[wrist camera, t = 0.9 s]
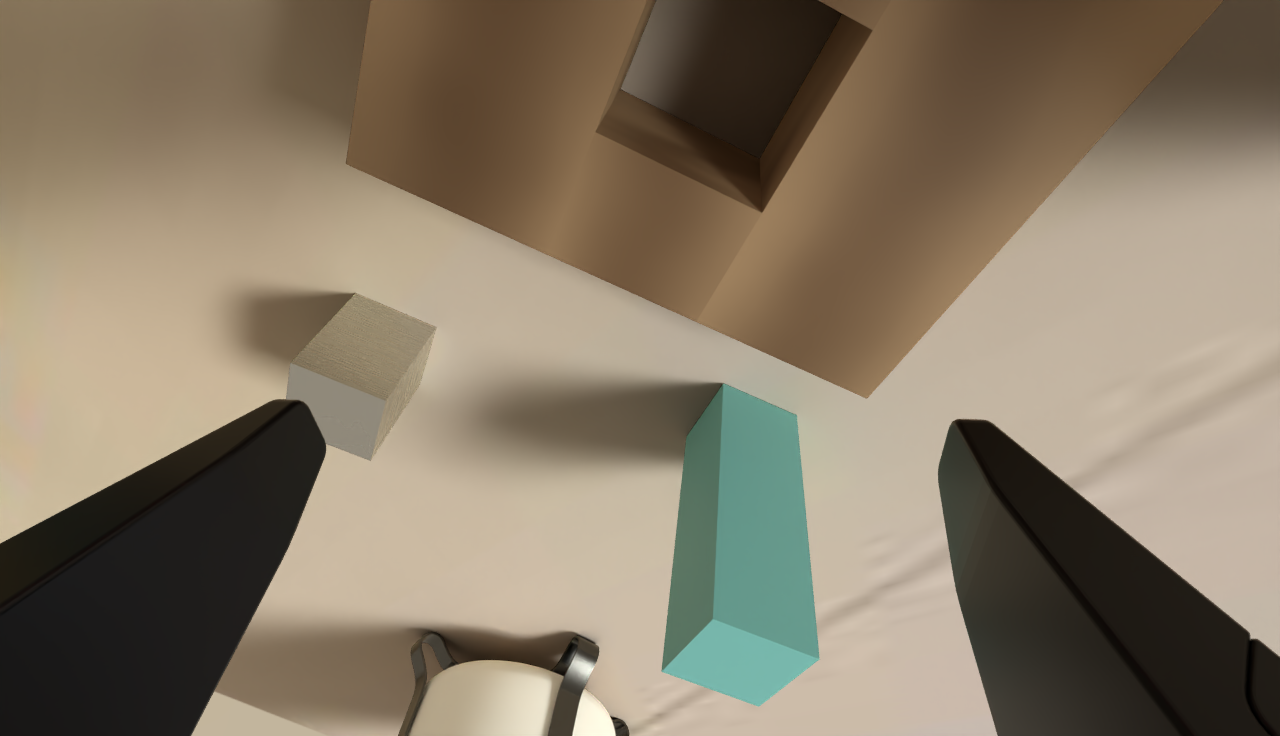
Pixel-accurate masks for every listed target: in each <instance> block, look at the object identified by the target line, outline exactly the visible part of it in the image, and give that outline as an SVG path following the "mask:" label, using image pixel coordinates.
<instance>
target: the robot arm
mask: <svg viewBox="0 0 1280 736" xmlns="http://www.w3.org/2000/svg"><path fill="white" fill-rule="evenodd" d="M325 454H326V443H325V439H324V437H323V435H322V433H321V431H320V429H319V427H318V425H317V422H316V420H315V418H314V416H313V414H312V412H311V410H310V408H309V407H308V405H307V404H306V403H305V402H303V401H301V400H290V399H277V400H273V401H270V402H268V403H266V404H265V405H263V406H261V407H259V408H257V409H255V410H253V411H251V412H249V413H247V414H246V415H244V416H242V417H240V418H238V419H236V420H234V421H232V422H230V423H228V424H227V425H225V426H223V427H221V428H219V429H217V430H215V431H213V432H211V433H209V434H208V435H206V436H204V437H202V438H200V439H198V440H196V441H194V442H192V443H190V444H189V445H187V446H185V447H183V448H181V449H179V450H177V451H175V452H173V453H171V454H170V455H168V456H166V457H164V458H162V459H160V460H158V461H156V462H154V463H152V464H151V465H149V466H147V467H145V468H143V469H141V470H139V471H137V472H135V473H133V474H132V475H130V476H128V477H126V478H124V479H122V480H120V481H118V482H116V483H114V484H112V485H111V486H109V487H107V488H105V489H103V490H101V491H99V492H97V493H95V494H93V495H92V496H90V497H88V498H86V499H84V500H82V501H80V502H78V503H76V504H74V505H73V506H71V507H69V508H67V509H65V510H63V511H61V512H59V513H57V514H55V515H54V516H52V517H50V518H48V519H46V520H44V521H42V522H40V523H38V524H36V525H35V526H33V527H31V528H29V529H27V530H25V531H23V532H21V533H19V534H17V535H16V536H14V537H12V538H10V539H8V540H6V541H4V542H2V543H1V544H0V736H191V735H192V733H193V731H194V729H195V727H196V725H197V723H198V721H199V719H200V717H201V716H202V714H203V712H204V710H205V708H206V706H207V704H208V702H209V700H210V698H211V696H212V694H213V692H214V691H215V689H216V687H217V685H218V683H219V681H220V679H221V677H222V675H223V673H224V671H225V669H226V667H227V666H228V664H229V662H230V660H231V658H232V656H233V654H234V652H235V650H236V648H237V646H238V644H239V642H240V641H241V639H242V637H243V635H244V633H245V631H246V629H247V627H248V625H249V623H250V621H251V619H252V617H253V615H254V614H255V612H256V610H257V608H258V606H259V604H260V602H261V600H262V598H263V596H264V594H265V592H266V590H267V589H268V587H269V585H270V583H271V581H272V579H273V577H274V575H275V573H276V571H277V569H278V567H279V565H280V564H281V562H282V560H283V558H284V555H285V553H286V551H287V549H288V547H289V545H290V543H291V540H292V538H293V536H294V533H295V531H296V529H297V526H298V523H299V521H300V518H301V516H302V513H303V511H304V508H305V506H306V503H307V501H308V498H309V496H310V493H311V491H312V488H313V486H314V483H315V481H316V478H317V476H318V473H319V471H320V468H321V466H322V463H323V460H324V458H325ZM938 483H939V489H940V496H941V502H942V508H943V514H944V521H945V527H946V533H947V539H948V545H949V552H950V558H951V564H952V570H953V576H954V582H955V587H956V592H957V596H958V600H959V603H960V607H961V611H962V614H963V618H964V621H965V625H966V628H967V632H968V635H969V639H970V642H971V645H972V649H973V652H974V656H975V659H976V663H977V666H978V670H979V673H980V676H981V680H982V683H983V687H984V690H985V694H986V697H987V701H988V704H989V707H990V711H991V714H992V718H993V721H994V725H995V728H996V732H997V735H998V736H1280V657H1279V656H1278V655H1277V654H1276V653H1275V652H1273V651H1272V650H1271V649H1270V648H1268V647H1267V646H1266V645H1265V644H1263V643H1262V642H1261V641H1260V640H1258V639H1250V633H1249V632H1248V631H1247V630H1246V629H1245V628H1243V627H1242V626H1241V625H1240V624H1238V623H1237V622H1236V621H1235V620H1234V619H1232V618H1231V617H1230V616H1229V615H1227V614H1226V613H1225V612H1224V611H1223V610H1221V609H1220V608H1219V607H1218V606H1216V605H1215V604H1214V603H1213V602H1211V601H1210V600H1209V599H1208V598H1207V597H1205V596H1204V595H1203V594H1202V593H1200V592H1199V591H1198V590H1197V589H1196V588H1194V587H1193V586H1192V585H1191V584H1189V583H1188V582H1187V581H1186V580H1184V579H1183V578H1182V577H1181V576H1180V575H1178V574H1177V573H1176V572H1175V571H1173V570H1172V569H1171V568H1170V567H1168V566H1167V565H1166V564H1165V563H1164V562H1162V561H1161V560H1160V559H1159V558H1157V557H1156V556H1155V555H1154V554H1153V553H1151V552H1150V551H1149V550H1148V549H1146V548H1145V547H1144V546H1143V545H1141V544H1140V543H1139V542H1138V541H1137V540H1135V539H1134V538H1133V537H1132V536H1130V535H1129V534H1128V533H1127V532H1126V531H1124V530H1123V529H1122V528H1121V527H1119V526H1118V525H1117V524H1116V523H1114V522H1113V521H1112V520H1111V519H1110V518H1108V517H1107V516H1106V515H1105V514H1103V513H1102V512H1101V511H1100V510H1098V509H1097V508H1096V507H1095V506H1094V505H1092V504H1091V503H1090V502H1089V501H1087V500H1086V499H1085V498H1084V497H1083V496H1081V495H1080V494H1079V493H1078V492H1076V491H1075V490H1074V489H1073V488H1071V487H1070V486H1069V485H1068V484H1067V483H1065V482H1064V481H1063V480H1062V479H1060V478H1059V477H1058V476H1057V475H1056V474H1054V473H1053V472H1052V471H1051V470H1049V469H1048V468H1047V467H1046V466H1044V465H1043V464H1042V463H1041V462H1040V461H1038V460H1037V459H1036V458H1035V457H1033V456H1032V455H1031V454H1030V453H1028V452H1027V451H1026V450H1025V449H1024V448H1022V447H1021V446H1020V445H1019V444H1017V443H1016V442H1015V441H1014V440H1013V439H1011V438H1010V437H1009V436H1008V435H1006V434H1005V433H1004V432H1003V431H1001V430H1000V429H999V428H998V427H997V426H995V425H994V424H993V423H991V422H990V421H987V420H978V419H957V420H955V421H953V422H952V423H951V425H950V427H949V430H948V433H947V437H946V441H945V445H944V448H943V452H942V456H941V459H940V463H939V469H938Z"/></svg>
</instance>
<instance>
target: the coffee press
mask: <svg viewBox="0 0 1280 736" xmlns="http://www.w3.org/2000/svg"><path fill="white" fill-rule="evenodd" d="M422 643H428V644H429V645H431V646H432V648H433V650H434V652H435V655H436V657H437V659H438V661H439V663H440V665H441V667H442V668H443V669H444V671H442V672H440V673H439V674H437V675H436V676H434V677H433V678H432V679H431V680H430V681H429V682H428V683H427V684H426V680H427V671H426V664H425V660H424V655H423V651H422ZM598 655H599V647H598V646H597V645H595V644H593V643H591V642H589V641H587V640H585V639H583V638H581V637H579V636H575V637H574V638H573V639H572V640H571V642H570V643H569V645H568V647H567V648H566V650H565V652H564V654H563V655H562V657H561V659H560V661H559V662H558V664H557V665H556V666H555V667H554V668H553V669H552V670H551V671H549V670H546V669H543V668H540V667H537V666H533V665H529V664H524V663H518V662H512V661H501V660H481V661H472V662H466V663H462V664H459V663H457V662H456V661H455V660H454V659H453V658H452V656H451V654H450V653H449V650H448V648H447V646H446V643H445V641H444V639H443V638H442V636H441V635H440V634H438V633H436V632H428V633H426V634H424V635H423V636H422V637H421V638H420V639H419V640H418V641H417V642H416V643H415V644H414V645H413V647H412V649H411V660H412V664H413V668H414V673H415V681H416V685H415V691H414V695H413V698H412V701H411V703H410V706H409V709H408V711H407V714H406V716H405V719H404V721H403V724H402V727H401V729H400V732H399V734H398V736H629V730H628V727H627V725H626V724H625V722H624V721H622V720H620V719H615V720H613V721H612V720H611V718H610V716H609V714H608V712H607V710H606V709H605V708H604V706H603V705H602V704H601V703H600V701H599V700H598V699H597V698H596V697H595V696H593V695H592V694H591V693H590V692H589V691H587V690H586V689H585V688H584V687H585V685H586V683H587V681H588V678H589V676H590V674H591V672H592V670H593V668H594V666H595V664H596V661H597V659H598Z"/></svg>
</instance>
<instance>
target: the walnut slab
mask: <svg viewBox="0 0 1280 736" xmlns="http://www.w3.org/2000/svg"><path fill="white" fill-rule="evenodd" d="M818 1H820V2H822V3H824V4H826V5H828V6H829V7H831V8H833V9H835V10H837V11H839V12H840V13H842V15H841V17H840V19H839V21H838V22H837V24H836V26H835V28H834V29H833V31H832V33H831V35H830V36H829V38H828V40H827V42H826V43H825V45H824V47H823V49H822V50H821V52H820V54H819V56H818V57H817V59H816V61H815V63H814V64H813V66H812V68H811V70H810V71H809V73H808V75H807V77H806V79H805V80H804V82H803V84H802V86H801V87H800V89H799V91H798V93H797V94H796V96H795V98H794V100H793V101H792V103H791V105H790V107H789V108H788V110H787V112H786V114H785V115H784V117H783V119H782V121H781V122H780V124H779V126H778V128H777V129H776V131H775V133H774V135H773V136H772V138H771V140H770V142H769V143H768V145H767V147H766V149H765V150H764V152H763V154H762V156H761V157H760V159H759V158H757V157H755V156H753V155H751V154H749V153H747V152H745V151H743V150H741V149H739V148H737V147H735V146H733V145H731V144H729V143H727V142H725V141H723V140H721V139H719V138H717V137H715V136H713V135H711V134H709V133H707V132H705V131H703V130H701V129H699V128H697V127H695V126H693V125H691V124H689V123H687V122H685V121H683V120H681V119H679V118H677V117H675V116H673V115H671V114H669V113H667V112H665V111H663V110H661V109H659V108H657V107H655V106H653V105H651V104H649V103H647V102H645V101H643V100H641V99H639V98H637V97H635V96H633V95H631V94H629V93H627V92H624V91H622V90H620V89H621V86H622V84H623V81H624V79H625V76H626V74H627V72H628V69H629V67H630V64H631V62H632V59H633V57H634V54H635V52H636V49H637V47H638V44H639V42H640V39H641V37H642V34H643V32H644V29H645V27H646V24H647V22H648V19H649V17H650V14H651V12H652V9H653V7H654V4H655V2H656V0H371V2H370V8H369V15H368V21H367V28H366V34H365V41H364V48H363V54H362V61H361V67H360V74H359V80H358V87H357V93H356V100H355V107H354V113H353V120H352V126H351V133H350V139H349V146H348V152H347V159H346V164H347V165H349V166H352V167H354V168H356V169H358V170H361V171H363V172H365V173H367V174H369V175H372V176H374V177H376V178H378V179H380V180H383V181H385V182H387V183H389V184H392V185H394V186H396V187H398V188H400V189H403V190H405V191H407V192H409V193H412V194H414V195H416V196H418V197H420V198H423V199H425V200H427V201H429V202H432V203H434V204H436V205H438V206H440V207H443V208H445V209H447V210H449V211H451V212H454V213H456V214H458V215H460V216H463V217H465V218H467V219H469V220H471V221H474V222H476V223H478V224H480V225H483V226H485V227H487V228H489V229H491V230H494V231H496V232H498V233H500V234H503V235H505V236H507V237H509V238H511V239H514V240H516V241H518V242H520V243H523V244H525V245H527V246H529V247H531V248H534V249H536V250H538V251H540V252H542V253H545V254H547V255H549V256H551V257H554V258H556V259H558V260H560V261H562V262H565V263H567V264H569V265H571V266H574V267H576V268H578V269H580V270H582V271H585V272H587V273H589V274H591V275H594V276H596V277H598V278H600V279H602V280H605V281H607V282H609V283H611V284H613V285H616V286H618V287H620V288H622V289H625V290H627V291H629V292H631V293H633V294H636V295H638V296H640V297H642V298H645V299H647V300H649V301H651V302H653V303H656V304H658V305H660V306H662V307H665V308H667V309H669V310H671V311H673V312H676V313H678V314H680V315H682V316H685V317H687V318H689V319H691V320H693V321H696V322H698V323H700V324H702V325H704V326H707V327H709V328H711V329H713V330H716V331H718V332H720V333H722V334H724V335H727V336H729V337H731V338H733V339H736V340H738V341H740V342H742V343H744V344H747V345H749V346H751V347H753V348H756V349H758V350H760V351H762V352H764V353H767V354H769V355H771V356H773V357H775V358H778V359H780V360H782V361H784V362H787V363H789V364H791V365H793V366H795V367H798V368H800V369H802V370H804V371H807V372H809V373H811V374H813V375H815V376H818V377H820V378H822V379H824V380H827V381H829V382H831V383H833V384H835V385H838V386H840V387H842V388H844V389H847V390H849V391H851V392H853V393H855V394H858V395H860V396H862V397H864V398H866V399H867V398H868V397H869V396H870V395H871V394H872V392H873V391H874V390H875V389H876V388H877V387H878V386H879V385H880V383H881V382H882V381H883V380H884V379H885V378H886V377H887V376H888V375H889V373H890V372H891V371H892V370H893V369H894V368H895V367H896V366H897V365H898V363H899V362H900V361H901V360H902V359H903V358H904V357H905V356H906V354H907V353H908V352H909V351H910V350H911V349H912V348H913V347H914V346H915V344H916V343H917V342H918V341H919V340H920V339H921V338H922V337H923V336H924V334H925V333H926V332H927V331H928V330H929V329H930V328H931V327H932V325H933V324H934V323H935V322H936V321H937V320H938V319H939V318H940V317H941V315H942V314H943V313H944V312H945V311H946V310H947V309H948V308H949V306H950V305H951V304H952V303H953V302H954V301H955V300H956V299H957V298H958V296H959V295H960V294H961V293H962V292H963V291H964V290H965V289H966V288H967V286H968V285H969V284H970V283H971V282H972V281H973V280H974V279H975V277H976V276H977V275H978V274H979V273H980V272H981V271H982V270H983V269H984V267H985V266H986V265H987V264H988V263H989V262H990V261H991V260H992V259H993V257H994V256H995V255H996V254H997V253H998V252H999V251H1000V250H1001V248H1002V247H1003V246H1004V245H1005V244H1006V243H1007V242H1008V241H1009V240H1010V238H1011V237H1012V236H1013V235H1014V234H1015V233H1016V232H1017V231H1018V230H1019V228H1020V227H1021V226H1022V225H1023V224H1024V223H1025V222H1026V221H1027V219H1028V218H1029V217H1030V216H1031V215H1032V214H1033V213H1034V212H1035V211H1036V209H1037V208H1038V207H1039V206H1040V205H1041V204H1042V203H1043V202H1044V201H1045V199H1046V198H1047V197H1048V196H1049V195H1050V194H1051V193H1052V192H1053V190H1054V189H1055V188H1056V187H1057V186H1058V185H1059V184H1060V183H1061V182H1062V180H1063V179H1064V178H1065V177H1066V176H1067V175H1068V174H1069V173H1070V171H1071V170H1072V169H1073V168H1074V167H1075V166H1076V165H1077V164H1078V163H1079V161H1080V160H1081V159H1082V158H1083V157H1084V156H1085V155H1086V154H1087V153H1088V151H1089V150H1090V149H1091V148H1092V147H1093V146H1094V145H1095V144H1096V142H1097V141H1098V140H1099V139H1100V138H1101V137H1102V136H1103V135H1104V134H1105V132H1106V131H1107V130H1108V129H1109V128H1110V127H1111V126H1112V125H1113V124H1114V122H1115V121H1116V120H1117V119H1118V118H1119V117H1120V116H1121V115H1122V113H1123V112H1124V111H1125V110H1126V109H1127V108H1128V107H1129V106H1130V105H1131V103H1132V102H1133V101H1134V100H1135V99H1136V98H1137V97H1138V96H1139V95H1140V93H1141V92H1142V91H1143V90H1144V89H1145V88H1146V87H1147V86H1148V84H1149V83H1150V82H1151V81H1152V80H1153V79H1154V78H1155V77H1156V76H1157V74H1158V73H1159V72H1160V71H1161V70H1162V69H1163V68H1164V67H1165V66H1166V64H1167V63H1168V62H1169V61H1170V60H1171V59H1172V58H1173V57H1174V55H1175V54H1176V53H1177V52H1178V51H1179V50H1180V49H1181V48H1182V47H1183V45H1184V44H1185V43H1186V42H1187V41H1188V40H1189V39H1190V38H1191V37H1192V35H1193V34H1194V33H1195V32H1196V31H1197V30H1198V29H1199V28H1200V26H1201V25H1202V24H1203V23H1204V22H1205V21H1206V20H1207V19H1208V18H1209V16H1210V15H1211V14H1212V13H1213V12H1214V11H1215V10H1216V9H1217V7H1218V6H1219V5H1220V4H1221V3H1222V2H1223V1H1224V0H818Z"/></svg>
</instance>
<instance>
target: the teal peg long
mask: <svg viewBox="0 0 1280 736" xmlns="http://www.w3.org/2000/svg"><path fill="white" fill-rule="evenodd" d="M818 660H819V649H818V638H817V627H816V617H815V606H814V595H813V585H812V574H811V563H810V553H809V542H808V531H807V521H806V510H805V499H804V489H803V478H802V467H801V457H800V446H799V435H798V425H797V415H795V414H792V413H790V412H788V411H785V410H783V409H781V408H779V407H776V406H774V405H772V404H769V403H767V402H765V401H763V400H760V399H758V398H756V397H753V396H751V395H749V394H747V393H744V392H742V391H740V390H737V389H735V388H733V387H731V386H728V385H726V384H724V383H723V385H722V386H721V388H720V389H719V391H718V392H717V393H716V395H715V396H714V398H713V399H712V401H711V402H710V404H709V405H708V406H707V408H706V409H705V411H704V412H703V414H702V415H701V417H700V418H699V419H698V421H697V422H696V424H695V425H694V427H693V428H692V430H691V431H690V433H689V434H688V435H687V437H686V446H685V455H684V464H683V474H682V483H681V493H680V502H679V511H678V521H677V530H676V540H675V549H674V559H673V568H672V577H671V587H670V596H669V606H668V615H667V625H666V634H665V643H664V653H663V662H662V672H664V673H667V674H670V675H672V676H675V677H678V678H681V679H684V680H686V681H689V682H692V683H695V684H697V685H700V686H703V687H706V688H709V689H711V690H714V691H717V692H720V693H723V694H725V695H728V696H731V697H734V698H736V699H739V700H742V701H745V702H748V703H750V704H753V705H756V706H760V705H762V704H763V703H764V702H765V701H767V700H768V699H769V698H771V697H772V696H773V695H774V694H776V693H777V692H778V691H779V690H781V689H782V688H783V687H785V686H786V685H787V684H788V683H790V682H791V681H792V680H794V679H795V678H796V677H797V676H799V675H800V674H801V673H802V672H804V671H805V670H806V669H808V668H809V667H810V666H811V665H813V664H814V663H815V662H817V661H818Z"/></svg>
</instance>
